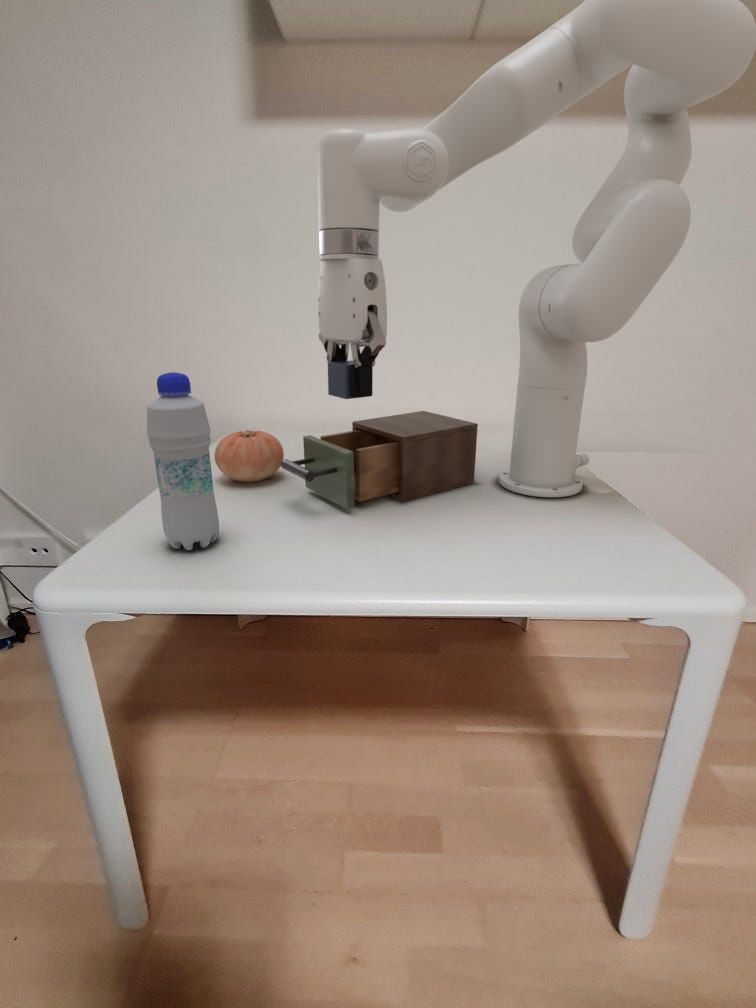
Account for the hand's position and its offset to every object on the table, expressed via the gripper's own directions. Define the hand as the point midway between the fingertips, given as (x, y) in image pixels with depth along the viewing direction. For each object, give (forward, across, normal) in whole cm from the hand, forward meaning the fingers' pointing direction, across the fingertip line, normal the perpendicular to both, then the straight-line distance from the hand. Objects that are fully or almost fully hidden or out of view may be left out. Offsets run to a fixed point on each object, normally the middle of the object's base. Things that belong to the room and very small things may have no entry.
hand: (350, 392), depth 75 cm
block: (0, 0, 0) cm, 0 cm away
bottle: (+16, -2, +24) cm, 29 cm away
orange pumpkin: (+16, +17, +8) cm, 24 cm away
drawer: (+14, 0, 0) cm, 14 cm away
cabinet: (+15, 0, -12) cm, 19 cm away
